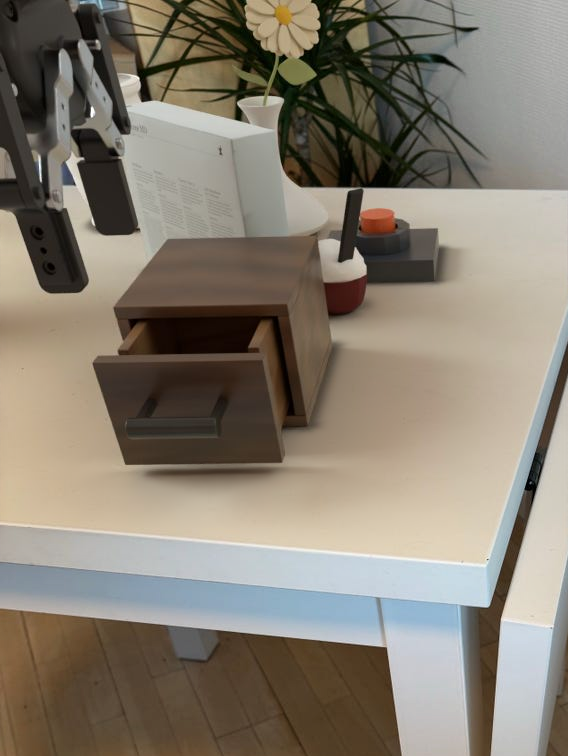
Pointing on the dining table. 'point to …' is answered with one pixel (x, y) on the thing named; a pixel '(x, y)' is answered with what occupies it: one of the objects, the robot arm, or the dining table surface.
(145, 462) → the drawer
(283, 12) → the flower in vase
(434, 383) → the dining table surface
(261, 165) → the skincare box
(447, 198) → the dining table surface
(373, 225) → the button
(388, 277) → the console
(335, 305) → the cocoa
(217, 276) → the cabinet
